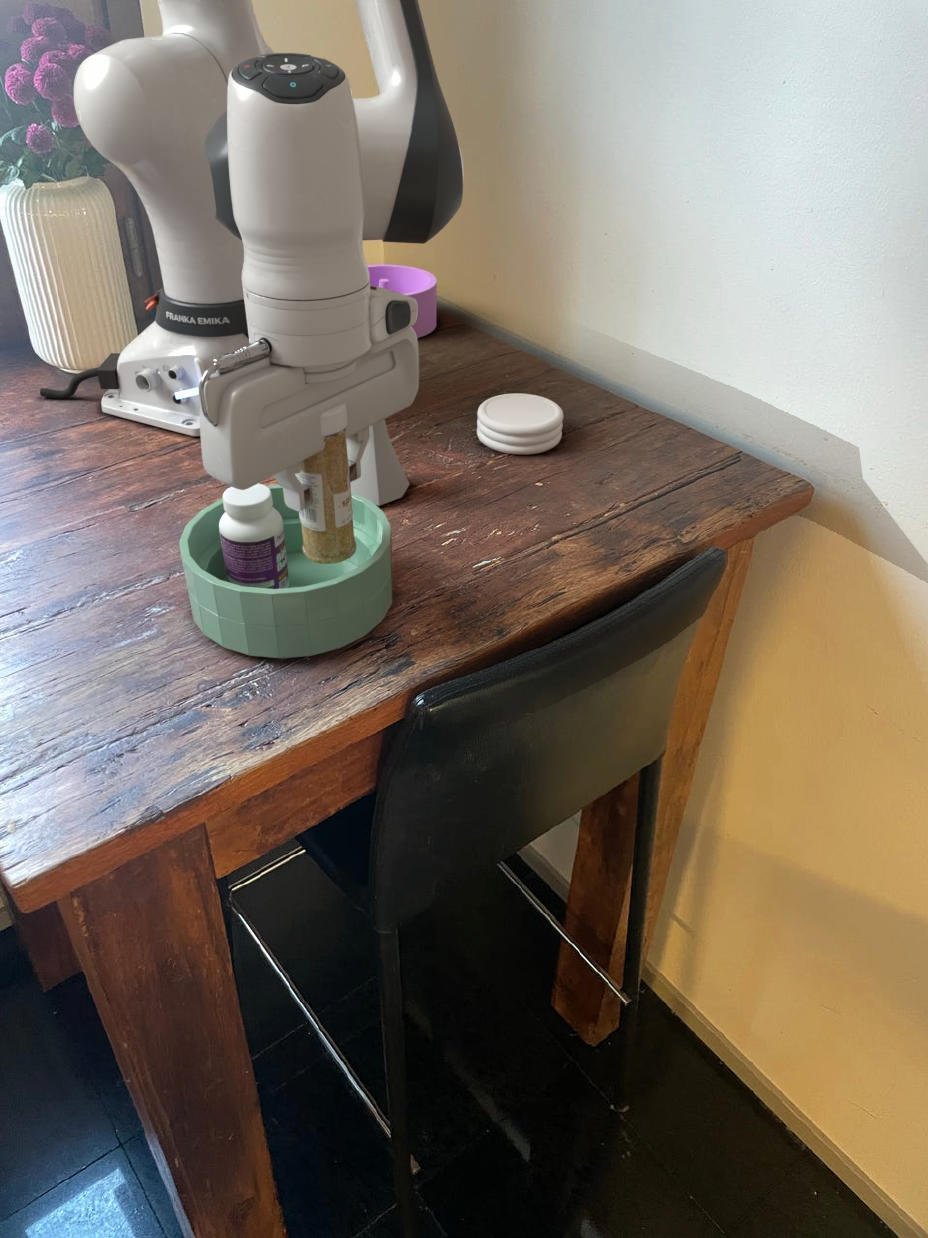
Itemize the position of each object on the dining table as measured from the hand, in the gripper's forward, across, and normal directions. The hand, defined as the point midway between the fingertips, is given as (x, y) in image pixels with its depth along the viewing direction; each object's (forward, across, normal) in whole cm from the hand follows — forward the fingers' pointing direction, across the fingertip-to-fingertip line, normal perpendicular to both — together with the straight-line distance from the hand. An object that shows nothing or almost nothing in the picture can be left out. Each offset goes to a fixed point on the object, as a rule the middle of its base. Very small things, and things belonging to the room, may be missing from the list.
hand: (324, 492), depth 75 cm
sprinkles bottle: (+6, 0, 0) cm, 6 cm away
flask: (+12, +18, +11) cm, 24 cm away
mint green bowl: (+11, -2, +3) cm, 12 cm away
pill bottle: (+11, -3, +6) cm, 13 cm away
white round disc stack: (+12, +38, +6) cm, 40 cm away
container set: (+12, +54, +47) cm, 73 cm away
